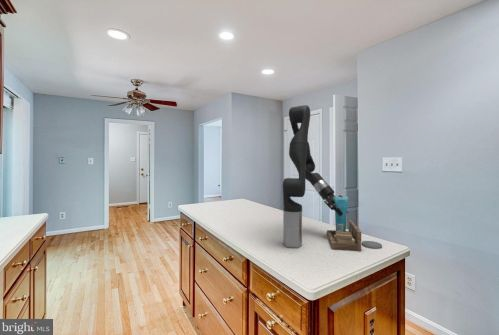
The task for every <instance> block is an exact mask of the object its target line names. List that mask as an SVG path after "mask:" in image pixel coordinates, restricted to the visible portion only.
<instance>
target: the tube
mask: <svg viewBox="0 0 499 335" xmlns="http://www.w3.org/2000/svg"><path fill="white" fill-rule="evenodd" d="M334 201H335V202H336V205H337V206H338V208H339V209H340V210H341V211H342V213H343V215H341V216H339V215H338V213H337V212H336V211H334V214H335V215H334V216H335V217H334V218H335V219H334V220H335V231H339V232H346V231H347V214H348V213H347V211H348V202H349V196H339V197H338V196H336V197H334Z"/></svg>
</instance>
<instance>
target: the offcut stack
mask: <svg viewBox="0 0 499 335" xmlns="http://www.w3.org/2000/svg"><path fill="white" fill-rule="evenodd" d="M335 231H336V230H335ZM334 241H335V242H339V243H355V240H354V238H353V237H352V235H351V233H350V232H339V231H336V235H334Z"/></svg>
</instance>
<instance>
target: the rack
mask: <svg viewBox="0 0 499 335" xmlns="http://www.w3.org/2000/svg"><path fill="white" fill-rule="evenodd" d="M346 232H350V233H351V235H352V237H353V238H354V240H355V243H339V242H335V241H334V235H336V230H332V229H331V230H330V229H329V230H327V229H326V236H327V239H328V242H329V245H330V248H331V250H334V251H335V250H336V251H337V250H338V251H351V252H353V251H354V252H362V231H361V230H360V229H359V227H358V225H356V224H355V222H353V220H350V219H349V220H348V230H346Z"/></svg>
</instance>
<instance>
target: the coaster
mask: <svg viewBox="0 0 499 335" xmlns="http://www.w3.org/2000/svg"><path fill="white" fill-rule="evenodd" d="M361 246H362V247H365V248H367V249H373V250H378V249H382V248H383V245H382V244H381V243H380V242H378V241H373V240H364V241H361Z"/></svg>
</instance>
